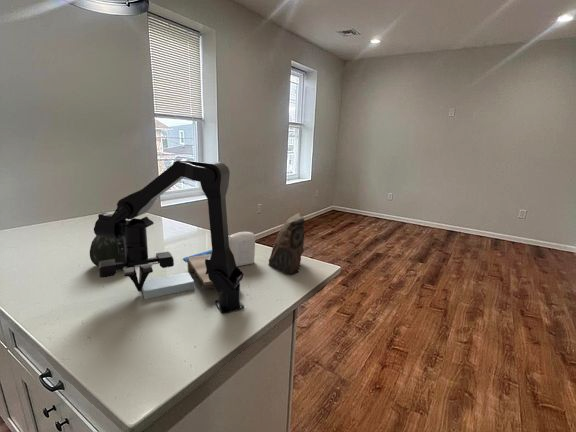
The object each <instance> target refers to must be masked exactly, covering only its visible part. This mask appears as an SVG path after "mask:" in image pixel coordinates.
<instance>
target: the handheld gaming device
mask: <svg viewBox="0 0 576 432" xmlns="http://www.w3.org/2000/svg"><path fill="white" fill-rule="evenodd" d="M211 253H212V249H211V250H207V251H204V252H199V253H196V254H193V255H189V256H186V257H183V259H182V260H183V261H185V262H186V263H188V262H187V257H194V256H200V255H207V254H211Z"/></svg>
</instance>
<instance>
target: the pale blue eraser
mask: <svg viewBox="0 0 576 432" xmlns="http://www.w3.org/2000/svg"><path fill="white" fill-rule="evenodd" d="M194 289H195V280H194V279H193V277H192V275H191V273H189V272H188V271H187V272H184V273H183V272H182V273H177V274H176V273H175V274H172V275H167V276H160V277H154V278H149V279H146V280H145V282H144V285H143V287H142V290H141V292H142V294H143V299H144V300H147V299H153V298H156V297H161V296H166V295H171V294H176V293H180V292H185V291H191V290H194Z"/></svg>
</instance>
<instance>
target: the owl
mask: <svg viewBox="0 0 576 432" xmlns="http://www.w3.org/2000/svg"><path fill="white" fill-rule="evenodd" d="M305 225H306V220H305V219H304V217H303V216H302V213H301V212H300V211H299V212H298V213H296V214H294V215H292V216H291V217H289V218H288V219H287V220H286V221H285V222H284V224H283V225H282V226H281V228H280V230H279V232H278V234H277V238H276V240H275V242H274V244H273V246H272V248H271V253H270V257H269V259H268V264H267V266H269V267H271V268H273V269H275V270H277V271H278V272H281V273H282V274H284V275H287V276H294V275H297V274H299V273H300V271H299V270H301V269H300V267H301V262H302V255H303V254H304V251H305V249H304V244H305V243H304V242H305V232H304V228H305Z"/></svg>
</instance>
